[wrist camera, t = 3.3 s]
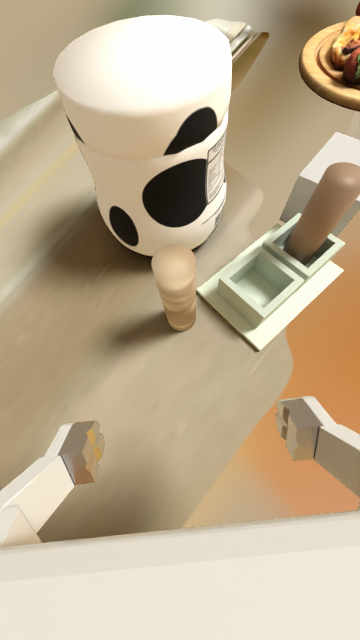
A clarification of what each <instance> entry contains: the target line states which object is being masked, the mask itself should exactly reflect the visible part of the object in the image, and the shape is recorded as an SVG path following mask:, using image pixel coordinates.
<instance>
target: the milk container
mask: <svg viewBox="0 0 360 640" xmlns="http://www.w3.org/2000/svg"><path fill="white" fill-rule="evenodd" d="M53 76H54V80H55V84H56V87H57V89H58V92H59V95H60V98H61V101H62V104H63V107H64V110H65V113H66V116H67V118H68V121H69V123H70V126H71V128H72V130H73V132H74V135H75V139H76V141H77V144H78V146H79V148H80V150H81V152H82V154H83V157H84V159H85V161H86V163H87V165H88V167H89V169H90V172H91V174H92V177H93V180H94V185H95V191H96V198H97V203H98V207H99V210H100V213H101V215H102V217H103V219H104V221H105V223H106V225H107V226H108V228H109V229H110V231H111V232H112V233H113V235H114V236H115V237H116V238H117V239H118V240H119V241H120V242H121V243H122V244H123V245H124V246H126V247H127V248H129V249H131V250H133V251H135V252H138V253H140V254H143V255H146V256H154V254H155V253H156V251H157V250H159V249H160V248H161V247H163V246H165V245H169V244H181V245H184V246H186V247H188V248H189V249H191V250H192V249H194V248H196V247H197V246H199V245H200V244H202V243H203V242H204V241H205V240H206V239H207V238H208V237H209V236H210V235H211V234H212V233H213V231H214V230H215V228H216V227H217V225H218V222H219V220H220V218H221V215H222V212H223V208H224V205H225V199H226V176H225V170H224V164H223V152H224V144H225V136H226V130H227V122H228V106H229V101H230V94H231V77H232V58H231V50H230V46H229V41H228V38H227V37H226V36H225V35H223V34H222V33H221V32H220V31H219V30H218V29H217V28H216V27H215V26H212V25H210V24H207V23H205V22H202V21H200V20H197V19H194V18H187V17H180V16H173V15H158V16H141V17H135V18H130V19H125V20H119V21H115V22H112V23H110V24H107V25H104V26H101V27H98V28H96V29H93V30H91V31H89V32H87V33H86V34H84V35H83V36H81V37H79V38H77V39H76V40H74V41H72V42H71V43H70V44H69V45H68V46H67V47H66V48H65V49H64V50H63V51H62V52H61V53H60V54H59V55H58V57H57V60H56V63H55V66H54V69H53Z"/></svg>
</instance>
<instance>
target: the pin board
mask: <svg viewBox="0 0 360 640" xmlns="http://www.w3.org/2000/svg"><path fill="white" fill-rule="evenodd" d="M359 195H360V166H358V165H355V164H352V163H348V162H339V163H334V164H332V165H330V166H329V167H328V168H327V169H326V170H325V172H324V174H323V176H322V178H321V180H320V181H319V183H318V185H317V187H316V189H315V191H314V193H313V194H312V196H311V198H310V200H309V202H308V204H307V205H306V207H305V209H304V211H303V213H302V214H300V213H298V214H297V215H295V216H294V217H293V218H292V219H291V220H289V221H288V222H287V223H286V224H284V225H283V226H280V225H279V224H277V225H275V226H274V227H273V228H272V229H271V230H269V231H268V232H267V233H266V234H264V235H263V236H262V237H261V238H259V239H258V240H257V241H256V242H254V243H253V244H252V245H251V246H250V247H248V248H247V249H246V250H245V251H243V252H242V253H241V254H240V255H238V256H237V257H236V258H235V259H234V260H232V261H231V262H230V263H229V264H227V265H226V266H225V267H224V268H222V269H221V270H220V271H219V272H218V273H216V274H215V275H214V276H213V277H211V278H210V279H209V280H208V281H206V282H205V283H204V284H203V285H202V286H200V287H199V288H198V289H197V293H199V294H200V295H201V296H202V297H203V298H204V299H205V300H206V301H207V302H208V303H209V304H210V305H211V306H212V307H213V308H214V309H215V310H216V311H217V312H218V313H219V314H220V315H222V316H223V317H224V318H225V319H226V320H227V321H228V322H229V323H230V324H231V325H232V326H233V327H234V328H235V329H236V330H237V331H238V332H239V333H240V334H241V335H242V336H244V337H245V338H246V339H247V340H248V341H249V342H250V343H251V344H252V345H253V346H254V347H255V348H256V349H257V350H258V351H260V350H261V349H262V348H263V347H264V346H265V345H266V344H267V343H268V342H269V341H270V340H272V339H273V338H274V337H275V336H276V335H277V334H278V333H279V332H280V331H281V330H282V329H283V328H284V327H285V326H286V325H287V324H288V323H289V322H290V321H291V320H292V319H293V318H294V317H296V316H297V315H298V314H299V313H300V312H301V311H302V309H304V308H305V307H306V306H307V305H308V304H309V303H310V302H311V301H312V300H313V299H314V298H315V297H316V296H318V295H319V294H320V293H321V292H322V291H323V290H324V289H325V288H326V287H327V286H328V285H329V284H330V283H331V282H332V281H333V280H334V279H335V278H336V277H337V276H338V275H340V274H341V273H342V272H343V271H344V270H343V269H341V268H340V267H338V266H337V265H336V264H334V263H333V262H331V261H330V260H331V259H332V258H333V257H334V256H335V254H336V253H337V252H338V251H339V250H340V249H341V248H342V246H344V244H345V243H344V242H343V241H341V240H340V239H338V238H337V237H335V236H334V235H332V234H331V232H332V230H333V229H334V228H335V226H336V225H337V224H338V222H339V221H340V220H341V218H342V217H343V216H344V215H345V213H346V212H347V211H348V209H349V208H350V207H351V205H352V204H353V203H354V201H355V200H356V199H357V197H358V196H359Z"/></svg>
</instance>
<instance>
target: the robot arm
mask: <svg viewBox="0 0 360 640" xmlns="http://www.w3.org/2000/svg"><path fill="white" fill-rule="evenodd" d="M276 407H277V409H278V413H277V414H276V425H277V428H278V431H279V433H280V435H281V437H282V438H284V439H285V440H286V447H287V449H288V451H289V453H290V455H291V457H292V459H293V460H294V461H295V460H308V459H314V460H315V461H316V462H317V463H318V464H320V465H321V466H322V467H323V468H324V469H326V470H327V471H328V472H329V473H330V474H332V475H333V476H334V477H335V478H336V479H338V480H339V481H340V482H341V483H342V484H344V485H345V486H346V487H347V488H349V489H350V490H351V491H352V492H353V493H355V494H356V495H357V496H358V497H359V498H360V435H359V434H357V433H356V432H354V431H352V430H350V429H348V428H346V427H344V426H342V425H337V424H336V423H335V422H334V421H333V419H332V418H331V417H330V416H329V415H328V413H327V412H326V411H325V410H324V409H323V407H322V406H321V405H320V404H319V403H318V401H317V400H316V399H315V398H314V397H313V396H307V397H300V398H291V399H283V400H278V401H277V404H276ZM99 429H100V425H99V422H98V421H87V422H75V423H66V424H63V425H62V426H61V427H60V429H59V431H58V432H57V434H56V436H55V438H54V440H53V441H52V443H51V445H50V447H49V449H48V450H47V452H46V454H45V456H44V457H40V458H39V459H38V460H37V461H36V462H34V463H33V464H32V465H31V466H30V467H28V468H27V469H26V470H25V471H24V472H22V473H21V474H20V475H19V476H18V477H16V478H15V479H14V480H13V481H12V482H11V483H9V484H8V485H7V486H6V487H5V488H3V489H2V490H1V491H0V640H360V503H359V507H358V510H354V511H345V512H335V513H325V514H316V515H307V516H297V517H287V518H277V519H269V520H258V521H248V522H239V523H229V524H219V525H211V526H201V527H191V528H181V529H172V530H162V531H153V532H143V533H133V534H124V535H114V536H104V537H95V538H85V539H75V540H66V541H56V542H46V543H42V541H41V540H40V538H39V537H38V535H37V534H36V533H37V532H38V531H39V530H40V528H41V527H42V526H43V525H44V523H45V522H46V521H47V520H48V518H49V517H50V516H51V515H52V513H53V512H54V511H55V510H56V509H57V507H58V506H59V505H60V504H61V502H62V501H63V500H64V499H65V497H66V496H67V495H68V494H69V492H70V491H71V490H72V489H73V487H74V485H77V484H84V483H91V482H95V479H96V475H97V472H98V469H99V464H98V462H97V461H98V460H99V459H100V458H101V457H102V455H103V452H104V444H105V442H104V436H103V434H102V433H101V432H99Z"/></svg>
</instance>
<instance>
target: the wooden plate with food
mask: <svg viewBox="0 0 360 640" xmlns="http://www.w3.org/2000/svg"><path fill="white" fill-rule="evenodd" d="M299 70H300V74H301V77H302V79H303V80H304V82H305V83H306V85H307V86H308V87H309V88H310V89H311V90H312V91H313V92H315V93H316V94H317V95H318V96H320V97H322V98H323V99H325V100H327V101H329V102H331V103H333V104H336V105H338V106H341V107H344V108H347V109H350V110H354V111H356V110H360V2H359V4H358V6H357V9H356V16H354V17H353V18H351V19H350V20H348V21H345V22H341V23H338V24H335V25H332V26H330V27H327V28H325V29H323V30H321V31H320V32H318V33H317V34H316V35H314V36H313V37H312V38H311V39H310V40H309V41H308V42H307V43H306V45H305V46H304V48H303V49H302V52H301V54H300V58H299Z"/></svg>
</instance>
